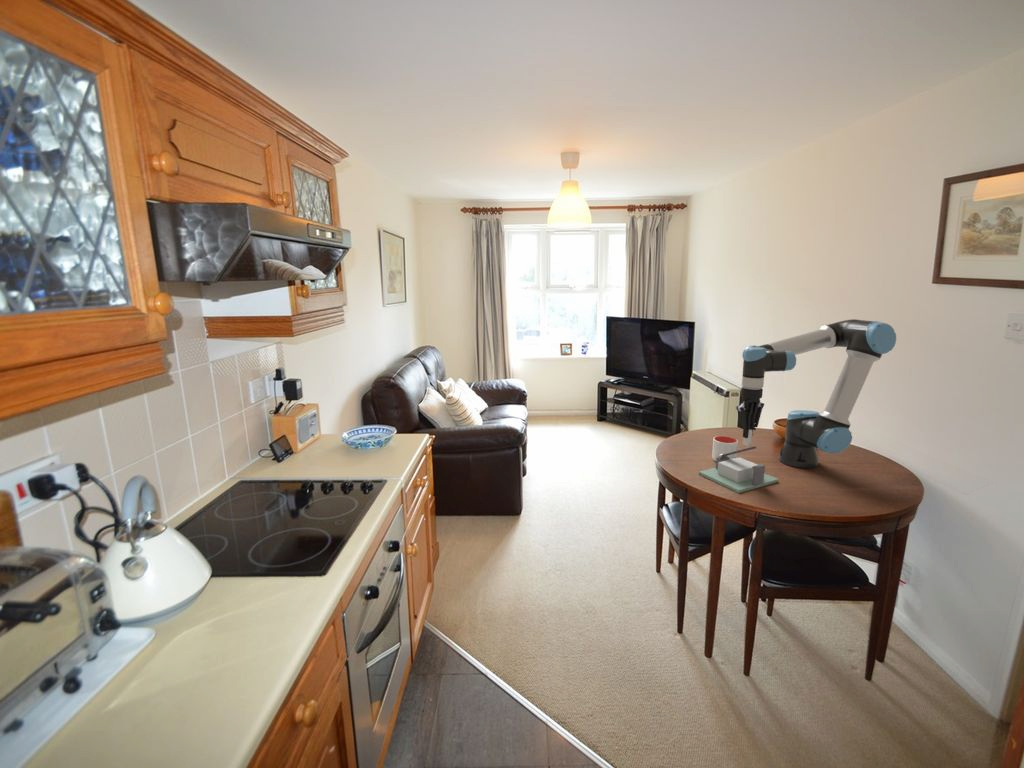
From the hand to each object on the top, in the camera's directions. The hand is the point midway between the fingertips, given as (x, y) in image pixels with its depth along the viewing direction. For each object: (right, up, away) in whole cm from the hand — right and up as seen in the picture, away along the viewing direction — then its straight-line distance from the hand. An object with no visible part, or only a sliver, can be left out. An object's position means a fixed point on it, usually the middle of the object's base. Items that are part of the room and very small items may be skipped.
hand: (746, 444), depth 192 cm
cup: (+2, -10, +24) cm, 27 cm away
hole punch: (-1, -14, +6) cm, 16 cm away
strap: (-1, -4, +5) cm, 6 cm away
